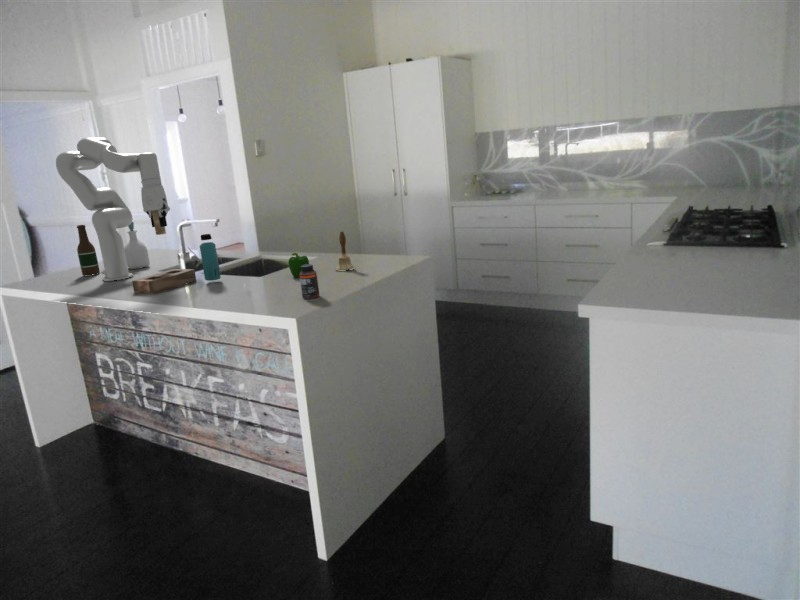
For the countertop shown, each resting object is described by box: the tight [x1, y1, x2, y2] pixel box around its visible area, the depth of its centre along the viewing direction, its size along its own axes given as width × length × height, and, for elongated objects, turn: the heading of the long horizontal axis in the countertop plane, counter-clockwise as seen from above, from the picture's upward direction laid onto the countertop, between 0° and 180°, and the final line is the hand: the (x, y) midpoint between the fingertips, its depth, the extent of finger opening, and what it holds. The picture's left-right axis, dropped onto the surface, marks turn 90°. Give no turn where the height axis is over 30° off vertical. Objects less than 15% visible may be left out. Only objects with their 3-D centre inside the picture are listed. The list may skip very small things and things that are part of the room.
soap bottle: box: [124, 221, 150, 270], centre depth 297 cm, size 10×10×23 cm
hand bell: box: [335, 231, 355, 271], centre depth 250 cm, size 8×8×16 cm
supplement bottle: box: [299, 263, 320, 300], centre depth 208 cm, size 6×6×11 cm
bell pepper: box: [288, 252, 310, 278], centre depth 246 cm, size 8×8×10 cm
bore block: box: [131, 268, 197, 295], centre depth 247 cm, size 12×22×5 cm, turn 156°
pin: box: [152, 208, 167, 236], centre depth 256 cm, size 4×4×12 cm
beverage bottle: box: [199, 233, 221, 282], centre depth 246 cm, size 6×7×20 cm
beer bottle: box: [76, 224, 101, 276], centre depth 288 cm, size 8×8×24 cm
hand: (159, 226), depth 257 cm, fingers closed on pin, 4 cm apart
